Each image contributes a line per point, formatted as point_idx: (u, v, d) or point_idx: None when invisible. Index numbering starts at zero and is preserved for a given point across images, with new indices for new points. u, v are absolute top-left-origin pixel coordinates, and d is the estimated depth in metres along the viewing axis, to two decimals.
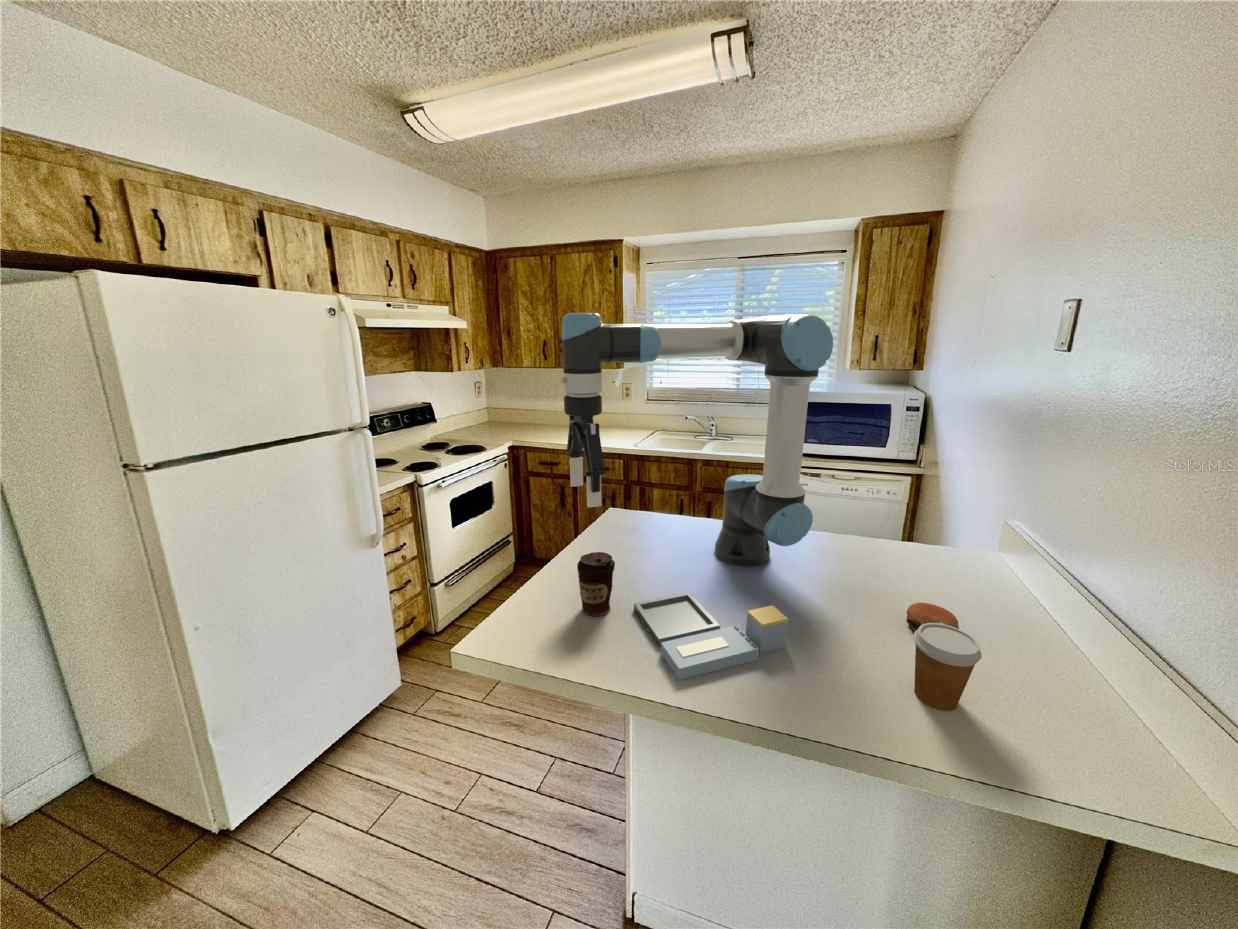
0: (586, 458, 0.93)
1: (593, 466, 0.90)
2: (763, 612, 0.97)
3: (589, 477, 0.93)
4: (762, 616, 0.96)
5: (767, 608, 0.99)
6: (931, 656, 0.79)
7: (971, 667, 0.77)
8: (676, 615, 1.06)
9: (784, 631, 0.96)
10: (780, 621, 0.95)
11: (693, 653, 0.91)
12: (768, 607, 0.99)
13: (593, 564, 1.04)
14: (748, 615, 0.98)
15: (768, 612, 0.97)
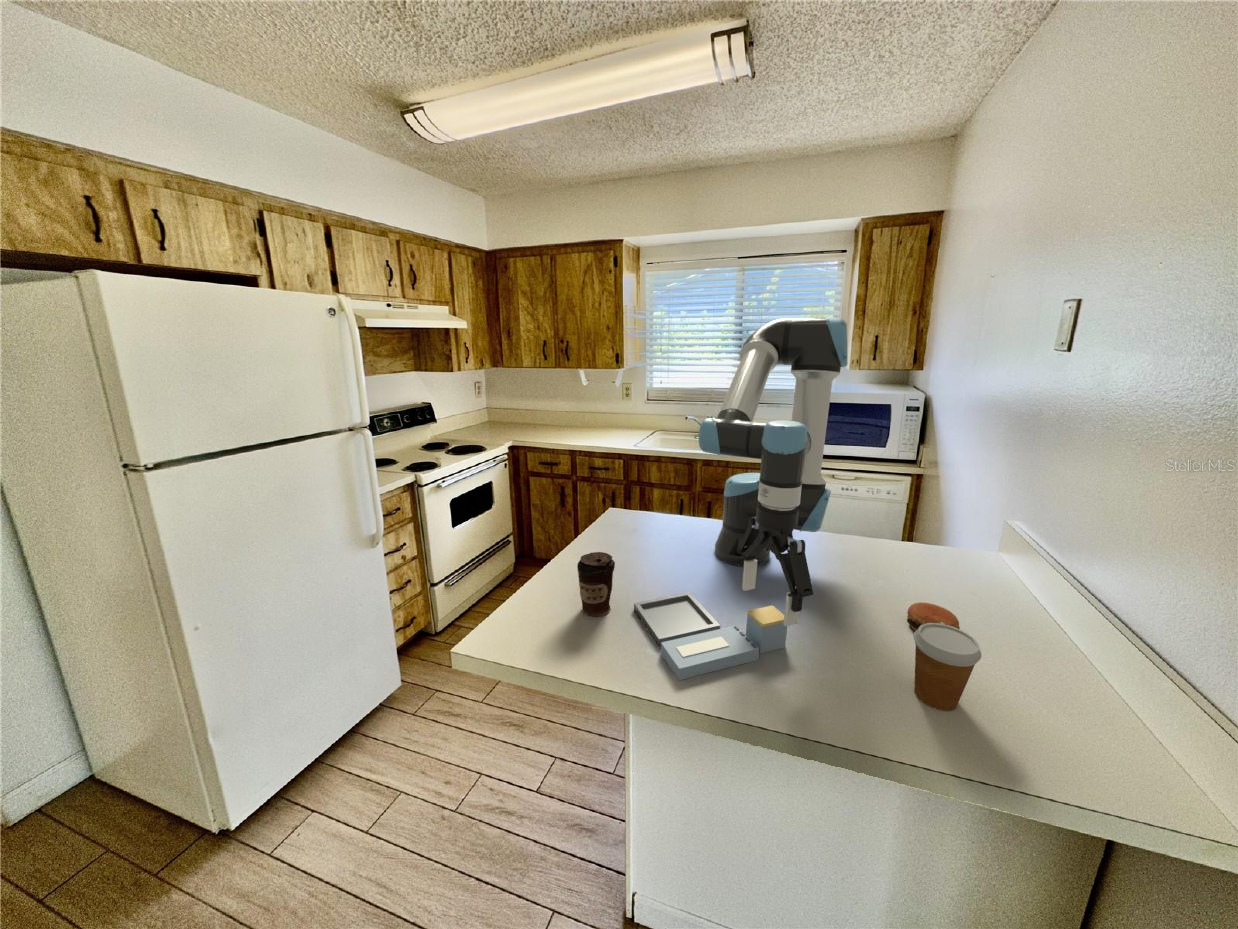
0: (787, 575, 0.87)
1: (802, 588, 0.84)
2: (763, 612, 0.97)
3: None
4: (762, 616, 0.96)
5: (767, 608, 0.99)
6: (931, 656, 0.79)
7: (971, 667, 0.77)
8: (676, 615, 1.06)
9: (784, 631, 0.96)
10: (780, 621, 0.95)
11: (693, 653, 0.91)
12: (768, 607, 0.99)
13: (593, 564, 1.04)
14: (748, 615, 0.98)
15: (768, 612, 0.97)
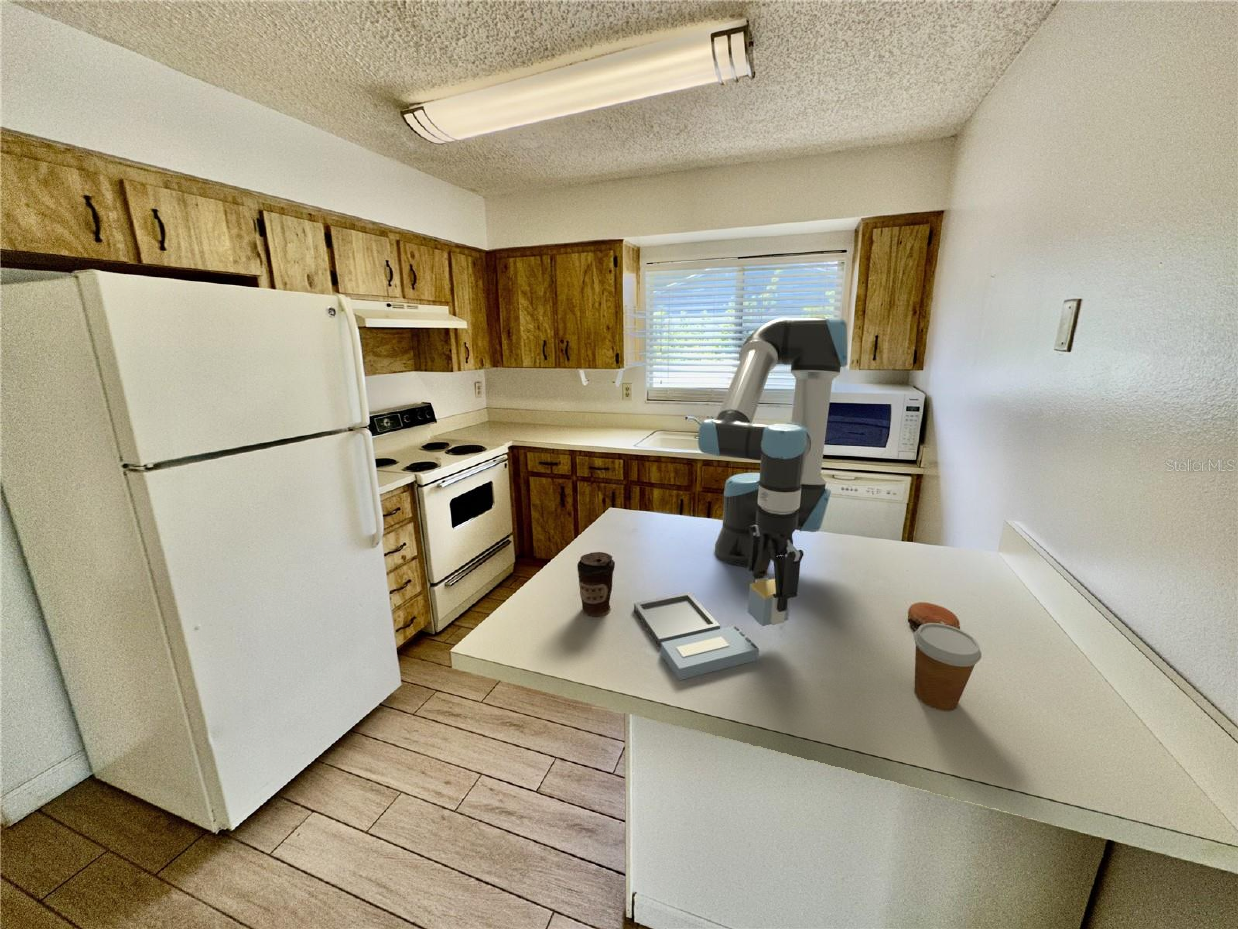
0: (777, 579, 0.91)
1: (788, 592, 0.89)
2: (766, 585, 0.96)
3: None
4: (765, 589, 0.95)
5: (770, 581, 0.97)
6: (931, 656, 0.79)
7: (971, 667, 0.77)
8: (676, 615, 1.06)
9: (787, 604, 0.95)
10: None
11: (693, 653, 0.91)
12: (771, 580, 0.98)
13: (593, 564, 1.04)
14: (750, 588, 0.96)
15: (771, 585, 0.96)
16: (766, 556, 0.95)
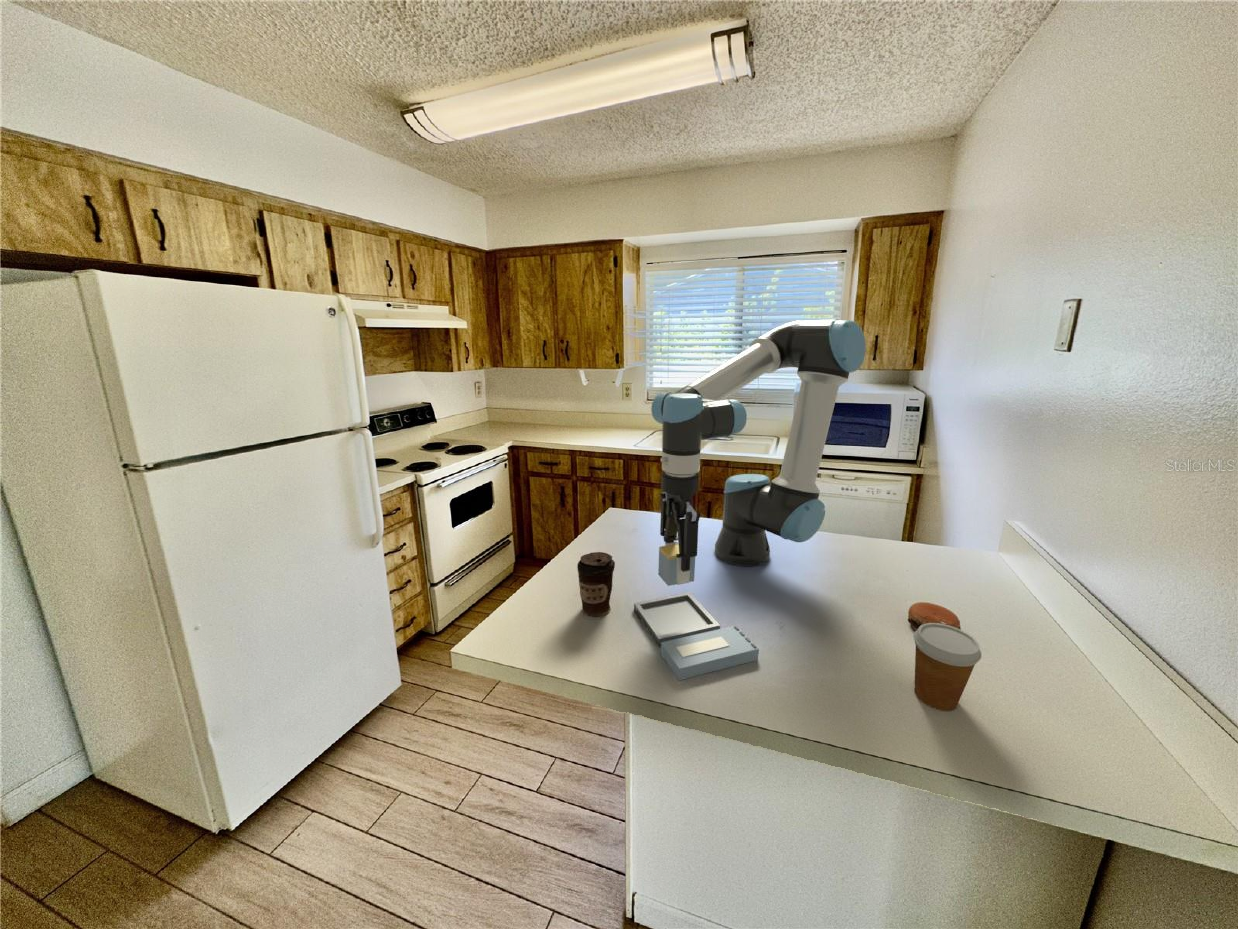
0: (680, 539, 0.96)
1: (687, 551, 0.94)
2: (673, 547, 1.02)
3: (680, 557, 0.98)
4: (671, 550, 1.00)
5: (678, 545, 1.03)
6: (931, 656, 0.79)
7: (971, 667, 0.77)
8: (676, 615, 1.06)
9: (692, 565, 1.00)
10: None
11: (693, 653, 0.91)
12: None
13: (593, 564, 1.04)
14: (659, 551, 1.02)
15: (678, 548, 1.02)
16: (673, 520, 1.01)
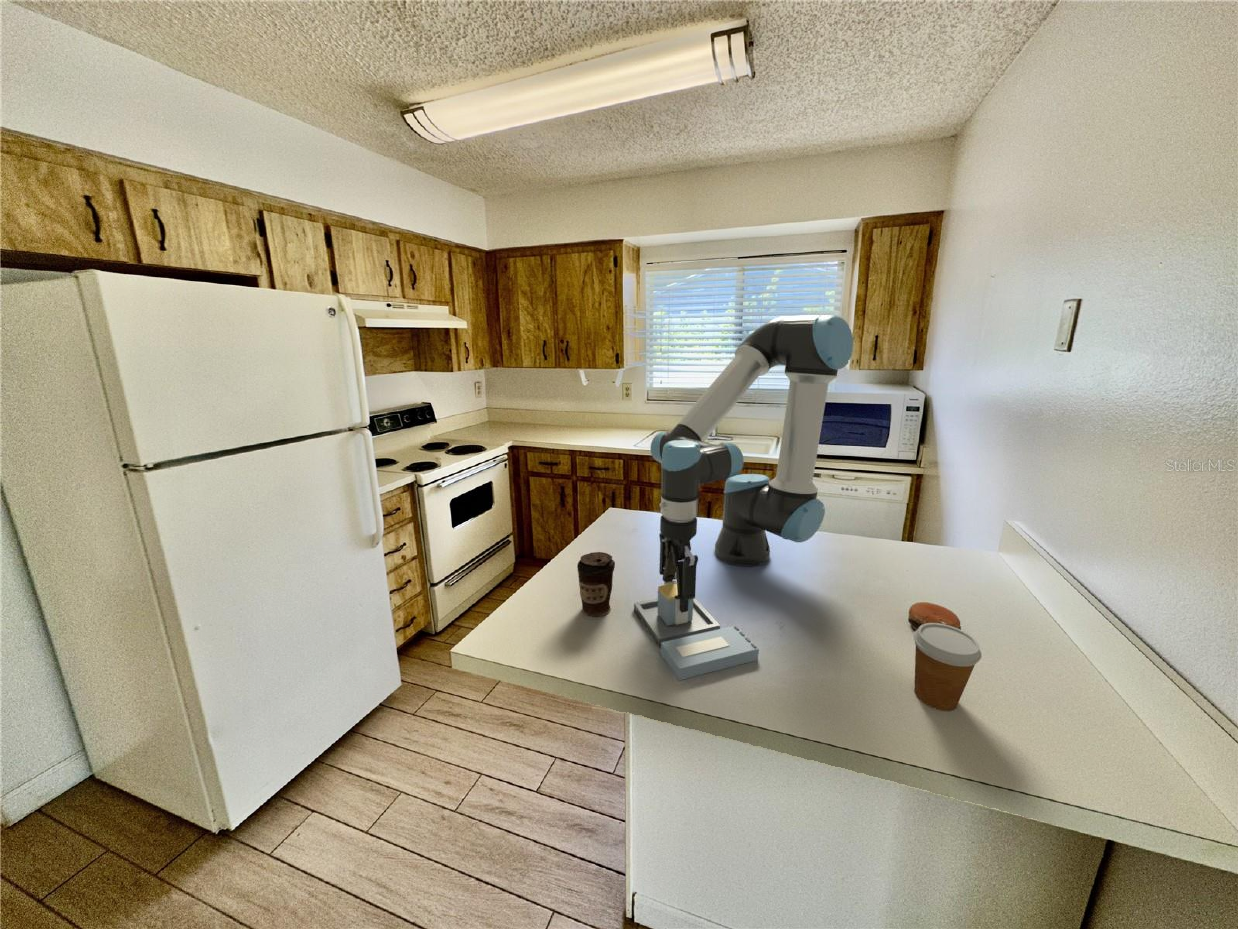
0: (678, 581, 0.99)
1: (686, 594, 0.97)
2: (672, 587, 1.04)
3: (678, 598, 1.00)
4: (670, 591, 1.03)
5: None
6: (931, 656, 0.79)
7: (971, 667, 0.77)
8: None
9: (690, 605, 1.03)
10: None
11: (693, 653, 0.91)
12: None
13: (593, 564, 1.04)
14: (658, 590, 1.05)
15: None
16: (672, 561, 1.04)
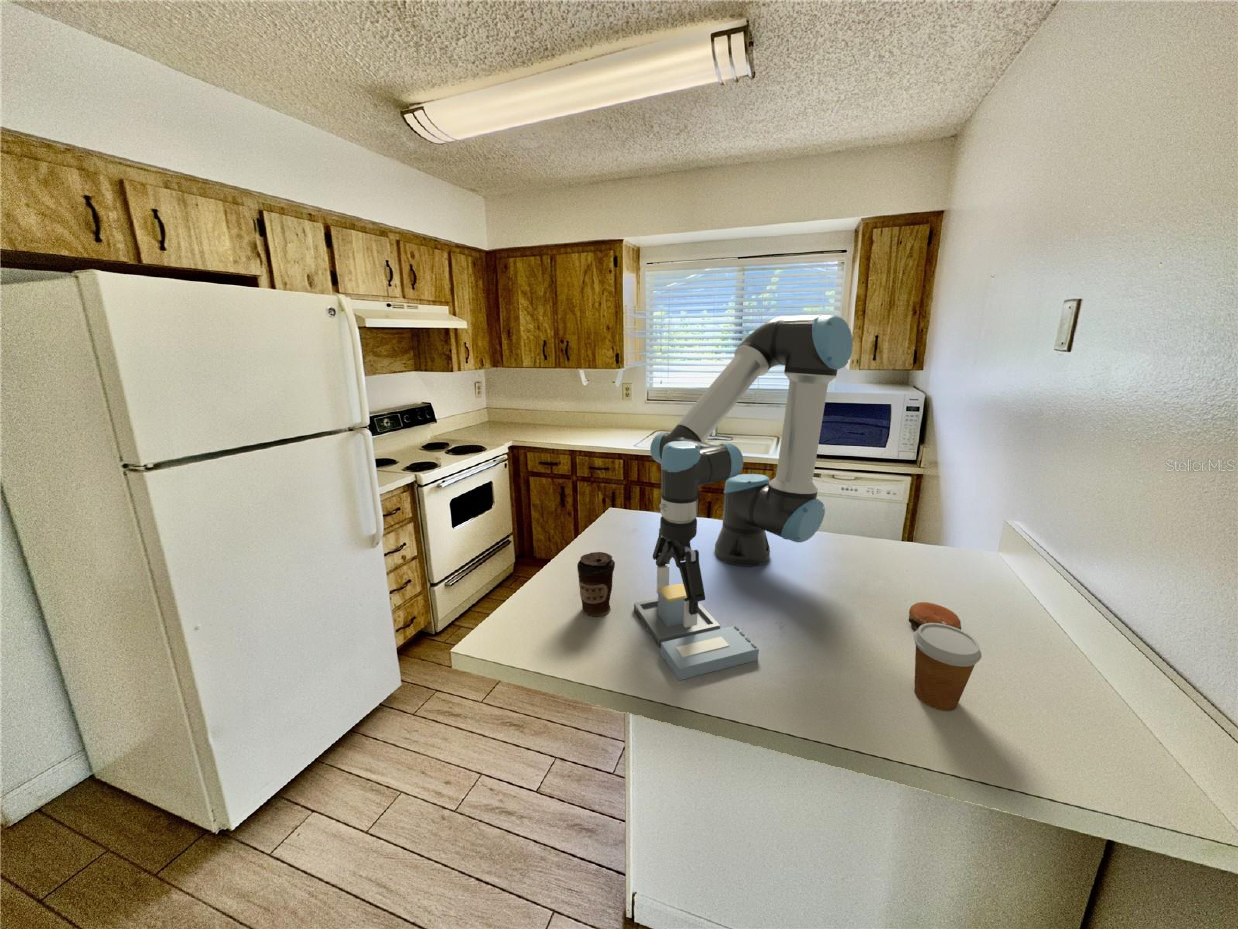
0: (684, 582, 0.96)
1: (694, 593, 0.93)
2: (672, 589, 1.04)
3: (687, 600, 0.96)
4: (670, 592, 1.03)
5: (677, 585, 1.06)
6: (931, 656, 0.79)
7: (971, 667, 0.77)
8: None
9: None
10: (686, 596, 1.02)
11: (693, 653, 0.91)
12: (678, 584, 1.06)
13: (593, 564, 1.04)
14: (658, 591, 1.05)
15: (677, 589, 1.04)
16: (668, 555, 1.05)
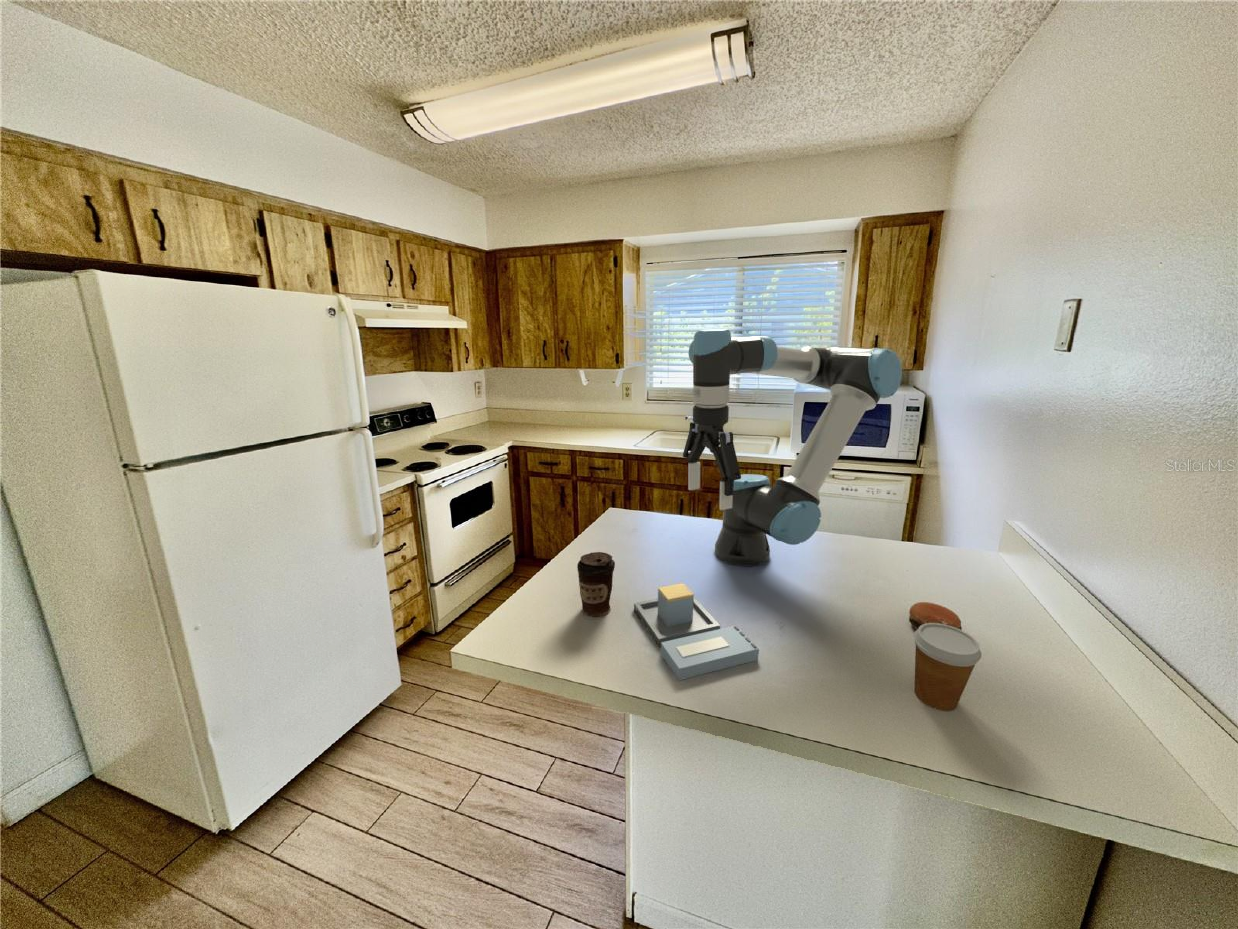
0: (720, 464, 1.00)
1: (731, 472, 0.97)
2: (672, 589, 1.04)
3: (723, 482, 1.00)
4: (670, 592, 1.03)
5: (677, 585, 1.06)
6: (931, 656, 0.79)
7: (971, 667, 0.77)
8: None
9: (690, 606, 1.03)
10: (686, 596, 1.02)
11: (693, 653, 0.91)
12: (678, 584, 1.06)
13: (593, 564, 1.04)
14: (658, 591, 1.05)
15: (677, 589, 1.04)
16: (700, 448, 1.09)
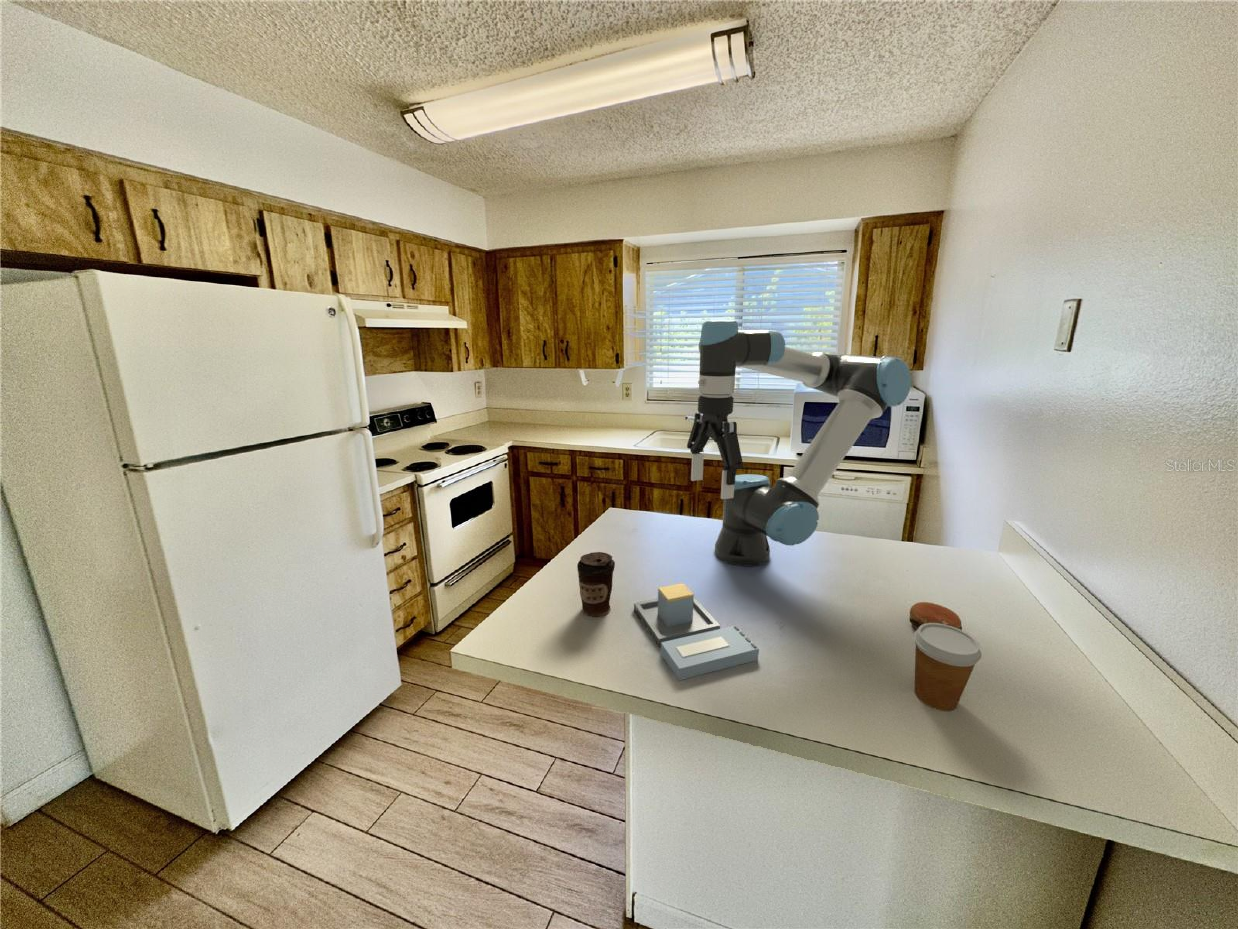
0: (722, 454, 1.01)
1: (733, 461, 0.98)
2: (672, 589, 1.04)
3: (725, 471, 1.01)
4: (670, 592, 1.03)
5: (677, 585, 1.06)
6: (931, 656, 0.79)
7: (971, 667, 0.77)
8: None
9: (690, 606, 1.03)
10: (686, 596, 1.02)
11: (693, 653, 0.91)
12: (678, 584, 1.06)
13: (593, 564, 1.04)
14: (658, 591, 1.05)
15: (677, 589, 1.04)
16: (704, 438, 1.10)
